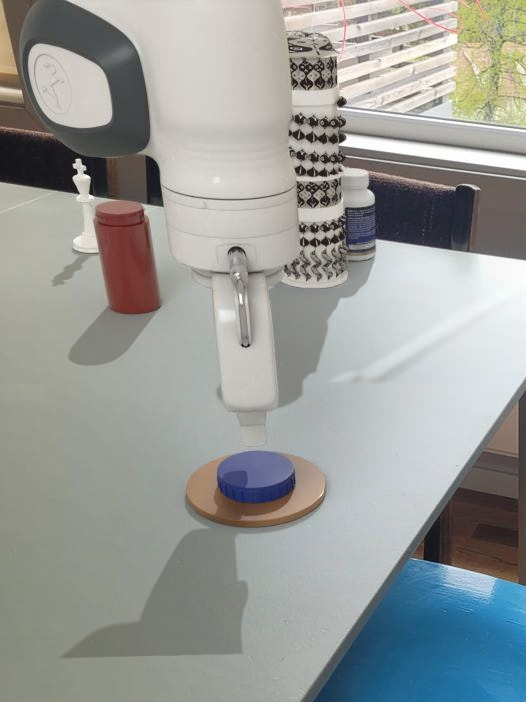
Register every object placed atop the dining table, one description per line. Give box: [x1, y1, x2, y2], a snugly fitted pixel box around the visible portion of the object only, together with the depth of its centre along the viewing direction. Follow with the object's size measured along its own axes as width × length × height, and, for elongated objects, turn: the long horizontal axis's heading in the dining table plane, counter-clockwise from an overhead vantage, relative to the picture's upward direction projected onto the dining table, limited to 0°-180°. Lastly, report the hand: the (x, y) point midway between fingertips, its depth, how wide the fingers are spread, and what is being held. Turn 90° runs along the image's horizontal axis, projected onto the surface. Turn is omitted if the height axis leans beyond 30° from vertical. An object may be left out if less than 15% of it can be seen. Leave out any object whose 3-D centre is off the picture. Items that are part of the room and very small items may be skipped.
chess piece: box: [72, 158, 99, 254], centre depth 120 cm, size 5×5×10 cm
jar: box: [93, 200, 163, 315], centre depth 106 cm, size 6×6×10 cm
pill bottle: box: [341, 167, 377, 262], centre depth 123 cm, size 5×5×10 cm
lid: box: [217, 450, 296, 503], centre depth 79 cm, size 6×6×1 cm
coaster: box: [185, 451, 327, 528], centre depth 80 cm, size 11×11×1 cm
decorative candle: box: [280, 30, 349, 289], centre depth 111 cm, size 9×9×25 cm
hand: (251, 413), depth 76 cm, fingers open, 8 cm apart
